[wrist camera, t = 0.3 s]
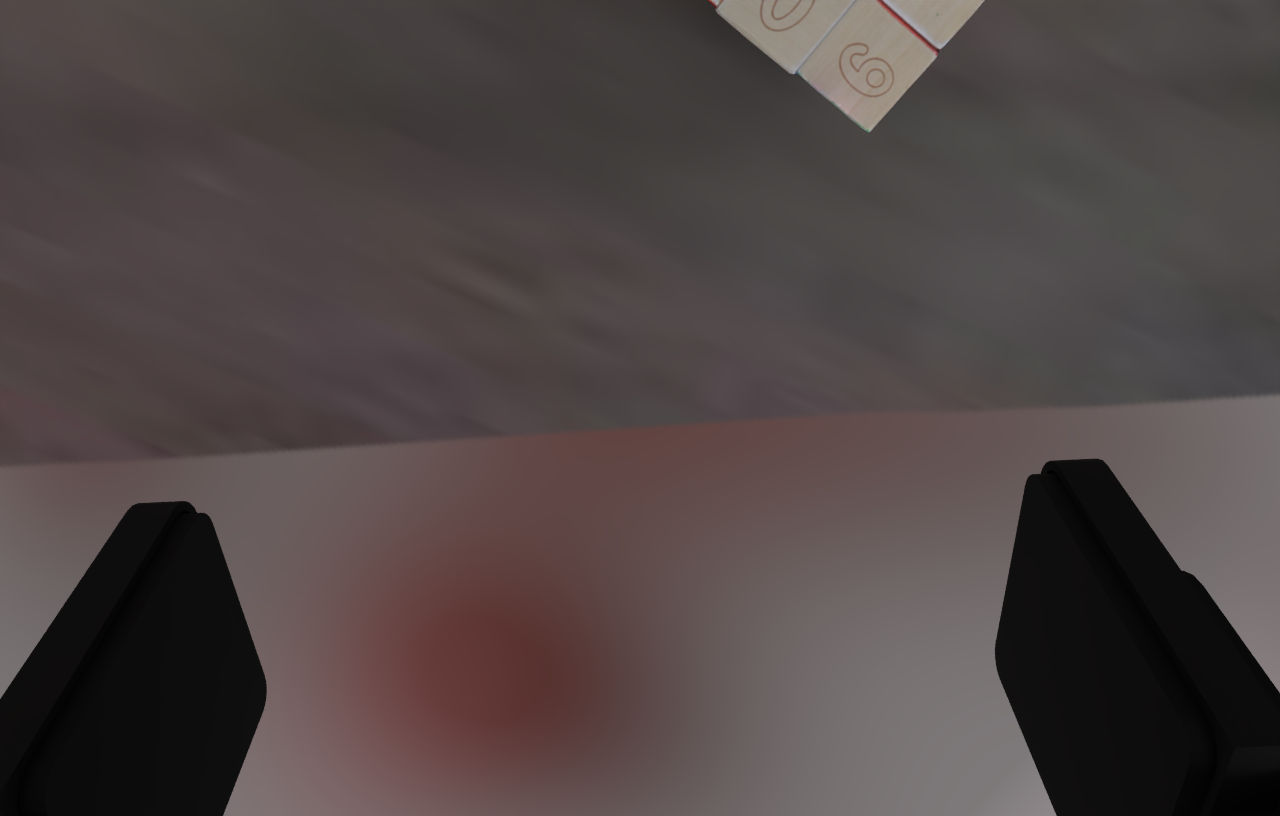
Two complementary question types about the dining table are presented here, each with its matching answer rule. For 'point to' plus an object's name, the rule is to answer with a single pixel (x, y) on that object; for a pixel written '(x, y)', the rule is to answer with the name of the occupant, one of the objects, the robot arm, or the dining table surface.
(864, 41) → the stack of blocks
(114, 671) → the robot arm
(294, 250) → the dining table surface
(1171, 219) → the dining table surface
